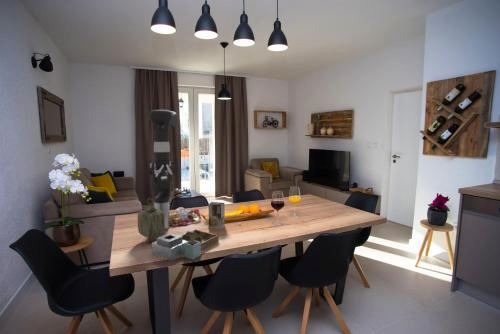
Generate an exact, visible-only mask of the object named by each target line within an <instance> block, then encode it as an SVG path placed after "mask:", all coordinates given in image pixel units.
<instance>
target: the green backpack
mask: <svg viewBox="0 0 500 334" xmlns="http://www.w3.org/2000/svg"><path fill="white" fill-rule="evenodd" d="M149 200H151V201H152V202H150V203H149ZM146 202H147V204H148V206H147V207H146V208H145V209H143V210H141V211H139V212H138V213H137V230H138V233H139V234H140V235H141V236H143V237H144V238H147V239H146V243H150V239H152V238H156V239H157V238H158V237H161V236H164V235H165V230H166V229H165V220H164V214H163V212H162V211H160V210H158V209H155V207H154V198H151V197H148V198H147V200H146Z"/></svg>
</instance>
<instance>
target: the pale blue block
mask: <svg viewBox="0 0 500 334" xmlns="http://www.w3.org/2000/svg"><path fill="white" fill-rule="evenodd" d="M186 242H188V241H184V240H183V236H181V235H179V234H175V233H171V232H169V233H166V234H163V235H160V236H159V237H158V238H157V237H156V240H154V241H151V253H152V255H154V256H158V257H159V256H160V258H162V257H163V259H165V260H168V261H171V262H172V261H174V260H176V259H179V258H180V257H182V256H185V243H186Z"/></svg>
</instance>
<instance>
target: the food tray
mask: <svg viewBox="0 0 500 334" xmlns="http://www.w3.org/2000/svg"><path fill="white" fill-rule="evenodd" d="M169 213H170V226H178V227H180V226H183V227H184V226H188V225H191V224H197V223H199V222H201V221H202V216H201V215H202V214H201V212H200V209H199V208H198V207H197V208H194V209H190V211H189V210H188V209H185V208H184V207H178V208H176V209H175V210H172V209H171V210H170V212H169Z"/></svg>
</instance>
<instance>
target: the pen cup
mask: <svg viewBox="0 0 500 334" xmlns="http://www.w3.org/2000/svg"><path fill="white" fill-rule="evenodd" d="M200 256H202V251H201V242H199V241H195V244H194V245H190V241H189V242H186V243H185V254H184V257H185V258H187V259H191V260H195V259H197V258H199V257H200Z"/></svg>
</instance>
